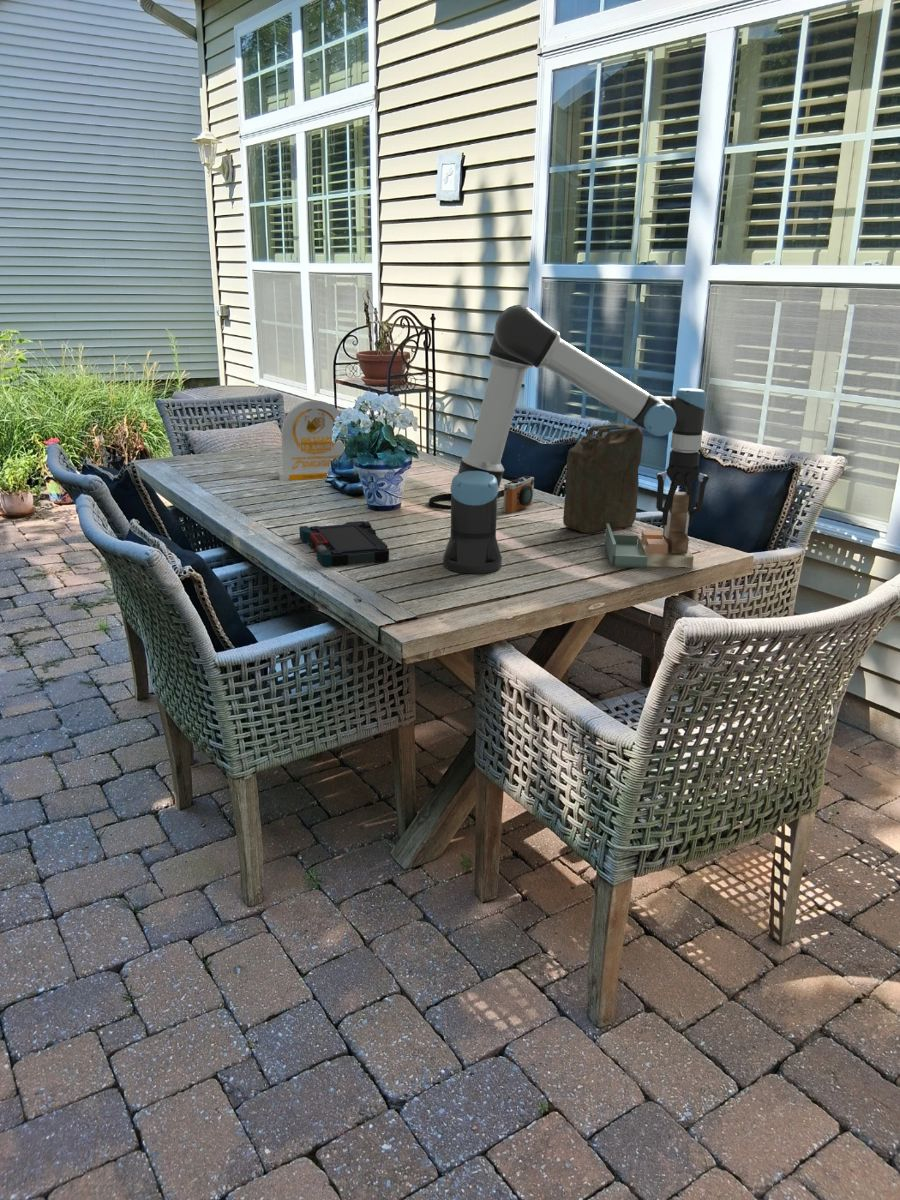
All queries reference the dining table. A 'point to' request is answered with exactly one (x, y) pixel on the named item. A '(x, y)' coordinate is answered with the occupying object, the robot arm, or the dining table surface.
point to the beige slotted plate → (666, 558)
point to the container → (603, 479)
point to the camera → (514, 493)
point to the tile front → (656, 546)
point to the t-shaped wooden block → (678, 524)
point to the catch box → (623, 550)
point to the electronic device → (345, 544)
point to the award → (308, 441)
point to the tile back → (651, 535)
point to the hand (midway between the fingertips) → (675, 537)
